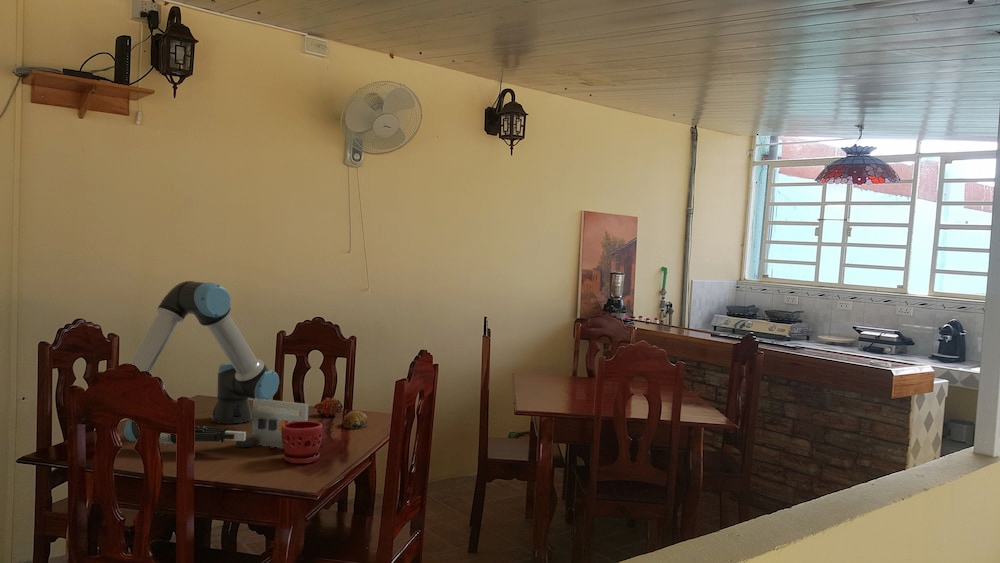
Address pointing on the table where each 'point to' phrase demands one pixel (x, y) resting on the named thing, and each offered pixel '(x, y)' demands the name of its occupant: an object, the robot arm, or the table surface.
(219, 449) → the table surface
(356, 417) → the bread roll
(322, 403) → the dragon fruit
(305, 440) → the plant pot
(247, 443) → the cord coil
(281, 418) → the breaker panel
